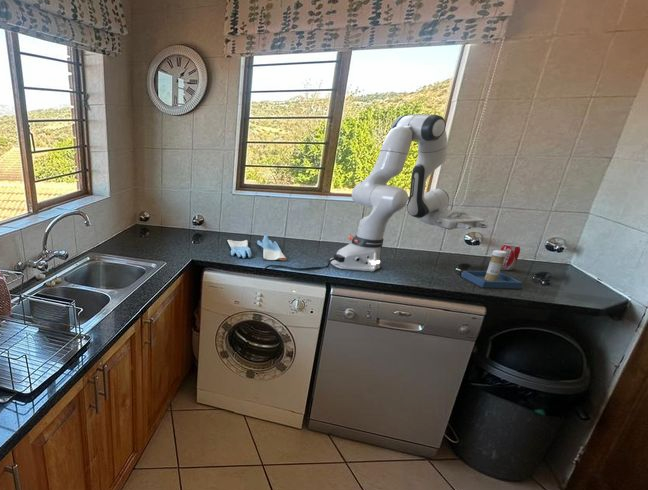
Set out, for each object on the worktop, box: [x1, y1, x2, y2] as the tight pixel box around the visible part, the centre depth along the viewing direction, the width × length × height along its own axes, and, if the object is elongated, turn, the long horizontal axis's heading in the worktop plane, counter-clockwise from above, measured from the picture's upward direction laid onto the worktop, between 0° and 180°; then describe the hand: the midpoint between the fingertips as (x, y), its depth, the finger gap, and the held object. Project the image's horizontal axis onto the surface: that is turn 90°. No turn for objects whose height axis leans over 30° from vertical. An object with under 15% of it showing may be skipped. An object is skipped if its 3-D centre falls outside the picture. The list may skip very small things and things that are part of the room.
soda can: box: [499, 242, 521, 271], centre depth 191 cm, size 7×7×12 cm
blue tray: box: [460, 270, 523, 290], centre depth 176 cm, size 16×14×3 cm
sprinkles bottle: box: [484, 249, 507, 281], centre depth 174 cm, size 5×5×14 cm
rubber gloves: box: [227, 234, 288, 261], centre depth 216 cm, size 27×33×6 cm
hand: (478, 226), depth 179 cm, fingers open, 8 cm apart
